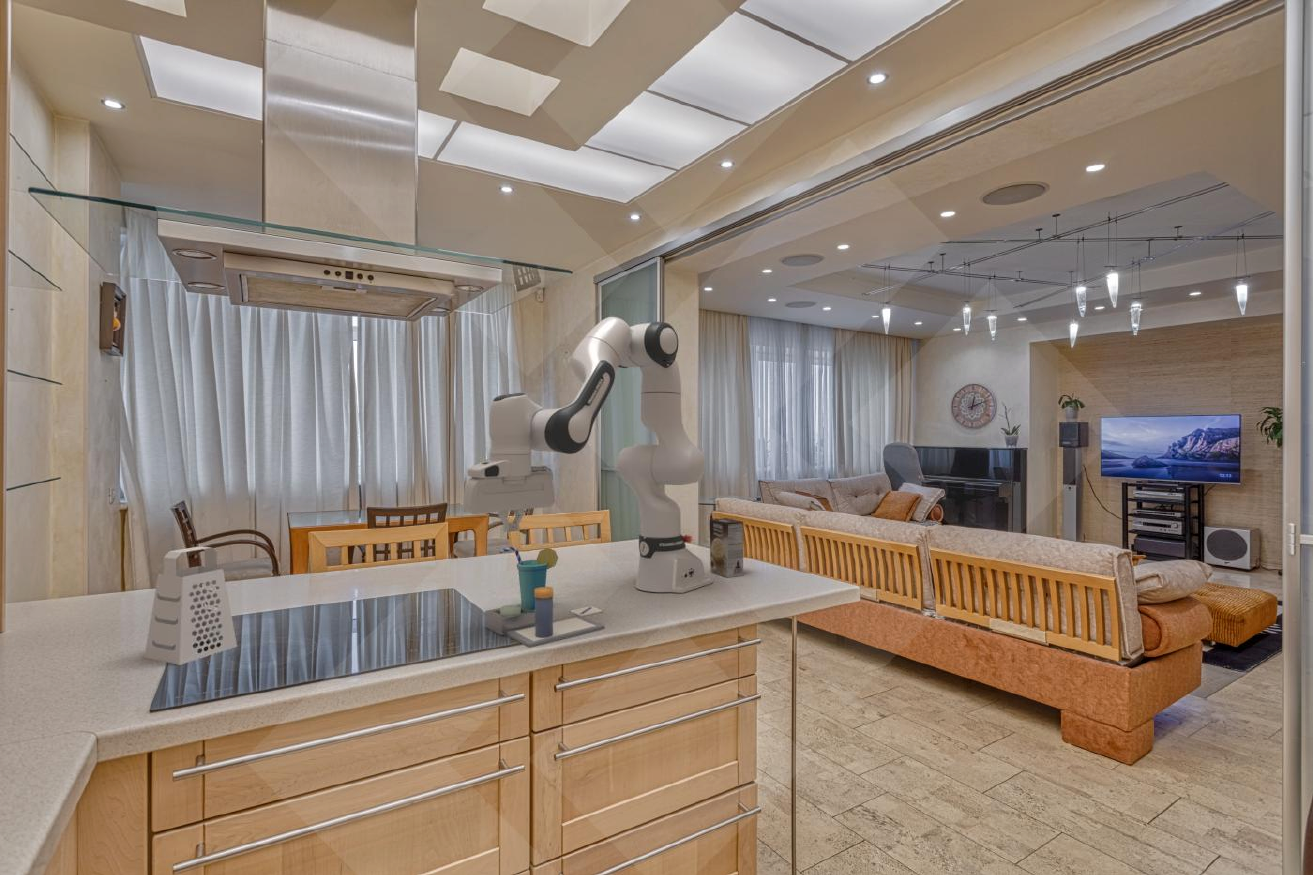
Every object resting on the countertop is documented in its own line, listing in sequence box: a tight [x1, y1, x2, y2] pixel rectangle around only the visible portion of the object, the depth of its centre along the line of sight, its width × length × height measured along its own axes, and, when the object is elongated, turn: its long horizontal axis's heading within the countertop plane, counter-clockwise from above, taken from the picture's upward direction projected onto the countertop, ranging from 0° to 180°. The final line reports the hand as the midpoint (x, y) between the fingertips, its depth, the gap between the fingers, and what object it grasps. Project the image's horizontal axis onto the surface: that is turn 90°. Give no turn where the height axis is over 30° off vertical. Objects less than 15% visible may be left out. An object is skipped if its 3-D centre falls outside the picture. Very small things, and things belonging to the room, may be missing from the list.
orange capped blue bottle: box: [534, 586, 554, 638], centre depth 127 cm, size 4×4×9 cm
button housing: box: [484, 604, 535, 636], centre depth 134 cm, size 8×8×4 cm
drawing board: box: [505, 615, 605, 648], centre depth 131 cm, size 18×10×1 cm, turn 130°
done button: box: [499, 604, 521, 616], centre depth 134 cm, size 4×4×4 cm
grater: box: [144, 546, 238, 666], centre depth 120 cm, size 10×10×20 cm
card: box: [569, 605, 604, 617], centre depth 146 cm, size 6×5×1 cm
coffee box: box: [709, 517, 744, 578], centre depth 185 cm, size 9×6×16 cm
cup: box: [499, 546, 559, 610], centre depth 150 cm, size 14×8×15 cm, turn 111°
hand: (511, 531), depth 134 cm, fingers closed
